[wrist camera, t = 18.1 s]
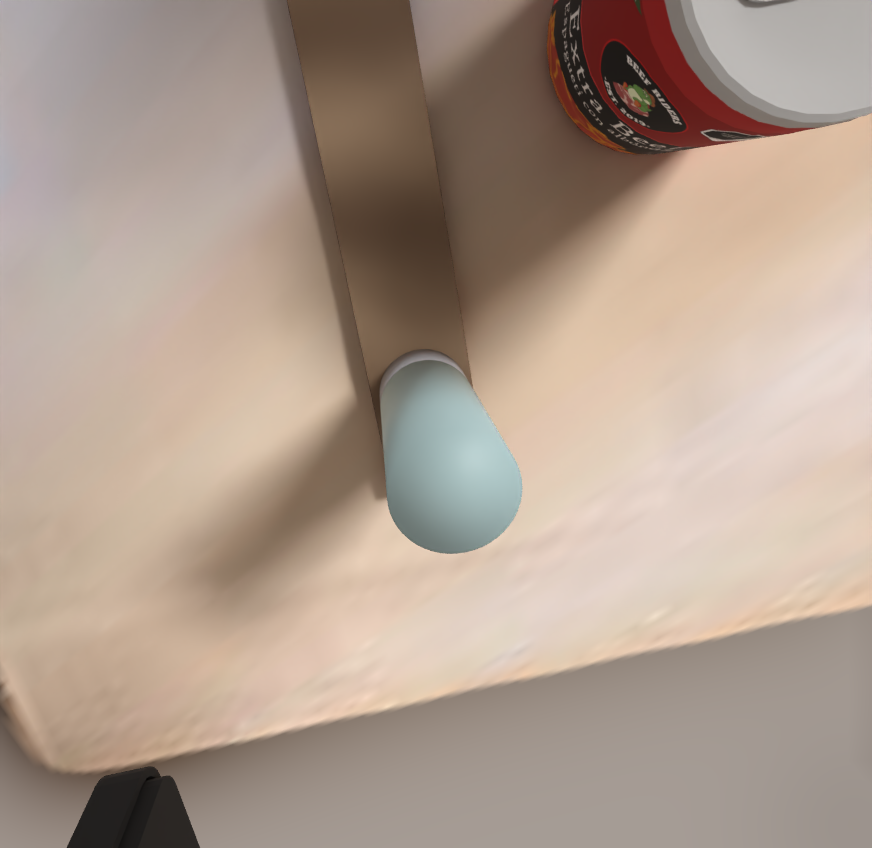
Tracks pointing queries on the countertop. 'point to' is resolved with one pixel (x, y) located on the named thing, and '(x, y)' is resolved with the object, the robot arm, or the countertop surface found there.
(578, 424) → the countertop surface
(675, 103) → the canned food
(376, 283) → the batten
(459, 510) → the peg
